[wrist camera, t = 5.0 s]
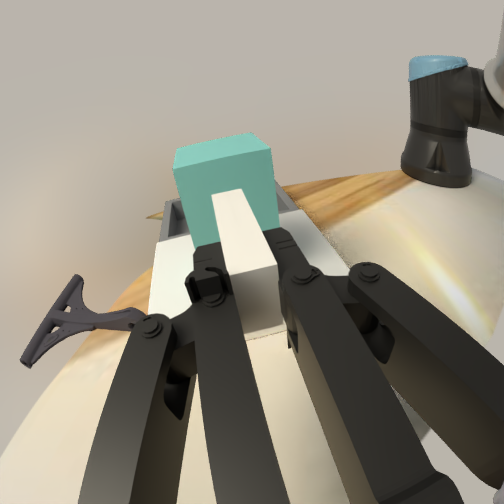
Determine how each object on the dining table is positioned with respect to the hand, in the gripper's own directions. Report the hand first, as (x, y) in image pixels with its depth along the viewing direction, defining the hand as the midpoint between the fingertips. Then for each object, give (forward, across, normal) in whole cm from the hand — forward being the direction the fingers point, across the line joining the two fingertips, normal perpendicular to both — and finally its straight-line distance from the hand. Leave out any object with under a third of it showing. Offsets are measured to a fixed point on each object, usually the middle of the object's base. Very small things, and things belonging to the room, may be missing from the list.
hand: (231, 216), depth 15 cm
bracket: (+8, -17, -13) cm, 22 cm away
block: (+7, 0, -8) cm, 10 cm away
